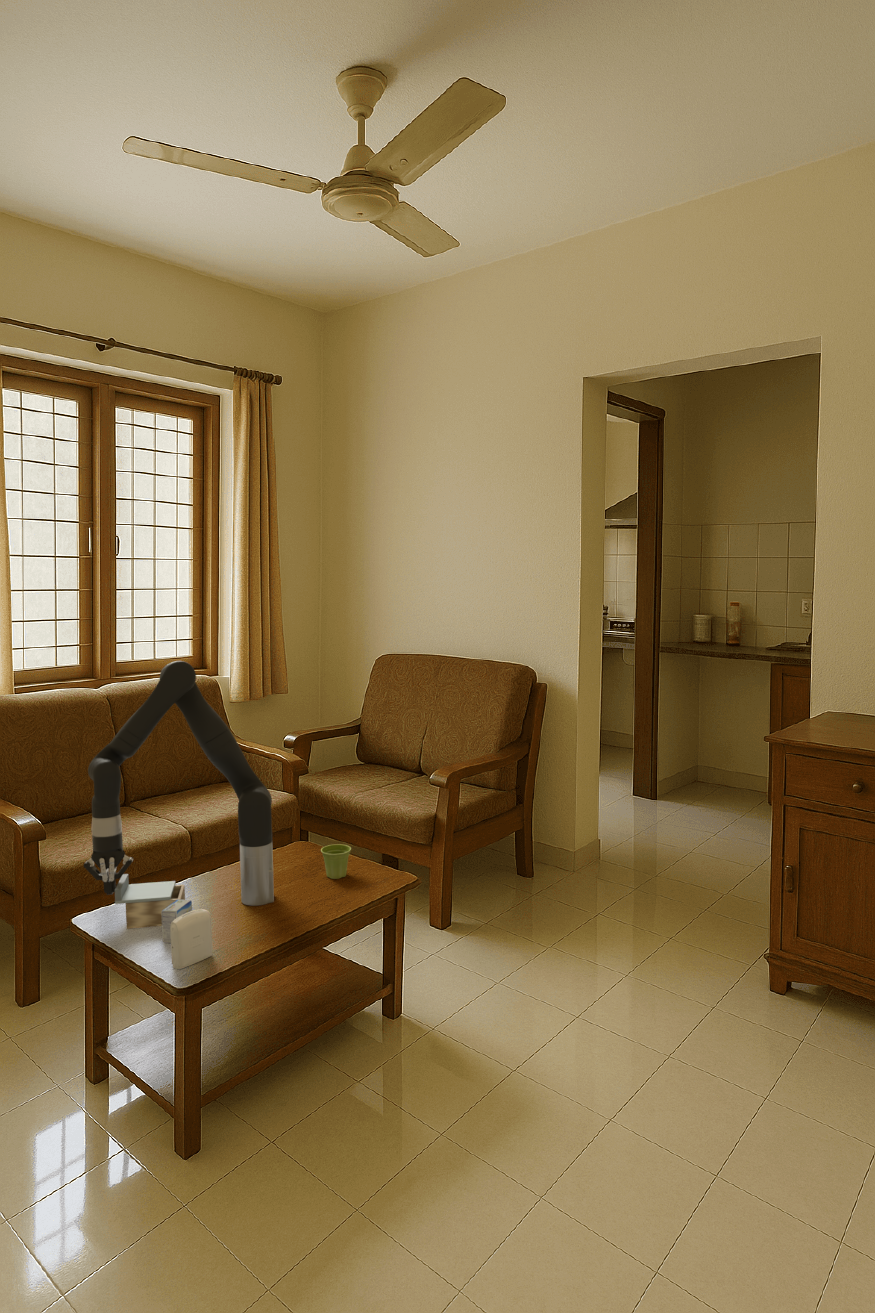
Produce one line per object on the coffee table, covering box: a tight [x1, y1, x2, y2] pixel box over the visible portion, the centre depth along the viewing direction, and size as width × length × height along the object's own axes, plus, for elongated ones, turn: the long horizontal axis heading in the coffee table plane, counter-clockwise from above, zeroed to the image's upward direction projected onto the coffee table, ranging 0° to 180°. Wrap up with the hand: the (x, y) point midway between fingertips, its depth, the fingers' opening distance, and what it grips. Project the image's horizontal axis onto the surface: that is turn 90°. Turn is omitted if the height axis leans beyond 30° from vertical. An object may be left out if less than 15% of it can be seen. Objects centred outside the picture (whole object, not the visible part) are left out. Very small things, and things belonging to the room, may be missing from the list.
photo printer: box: [170, 908, 214, 970], centre depth 199 cm, size 10×4×12 cm, turn 140°
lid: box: [114, 873, 176, 905], centre depth 223 cm, size 14×12×4 cm
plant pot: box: [320, 843, 352, 880], centre depth 256 cm, size 9×9×9 cm
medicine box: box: [161, 899, 193, 944], centre depth 212 cm, size 8×4×9 cm, turn 168°
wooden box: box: [125, 884, 186, 930], centre depth 224 cm, size 14×11×7 cm
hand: (110, 893), depth 221 cm, fingers closed
